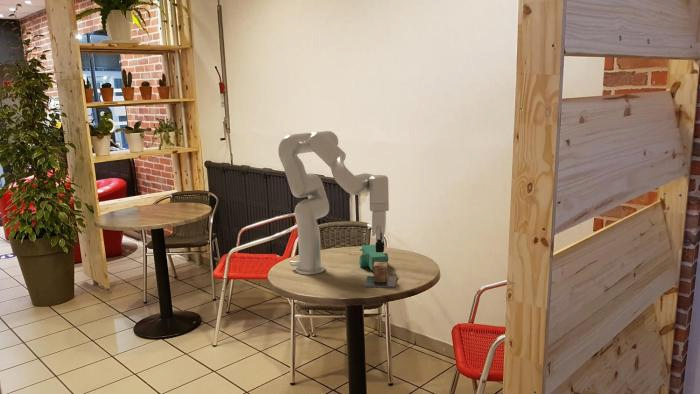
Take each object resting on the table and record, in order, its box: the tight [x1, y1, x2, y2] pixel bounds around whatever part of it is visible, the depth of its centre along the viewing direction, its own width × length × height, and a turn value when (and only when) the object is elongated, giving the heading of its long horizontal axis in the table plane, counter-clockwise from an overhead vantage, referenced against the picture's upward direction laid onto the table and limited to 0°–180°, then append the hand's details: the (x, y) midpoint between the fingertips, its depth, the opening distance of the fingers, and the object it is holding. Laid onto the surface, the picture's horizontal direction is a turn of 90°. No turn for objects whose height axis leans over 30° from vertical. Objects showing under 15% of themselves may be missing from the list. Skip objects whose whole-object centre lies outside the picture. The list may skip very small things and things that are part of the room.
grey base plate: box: [364, 275, 397, 289], centre depth 212 cm, size 12×12×7 cm
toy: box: [358, 240, 389, 272], centre depth 235 cm, size 12×10×30 cm
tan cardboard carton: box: [373, 262, 388, 282], centre depth 212 cm, size 5×5×7 cm
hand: (380, 251), depth 210 cm, fingers closed
